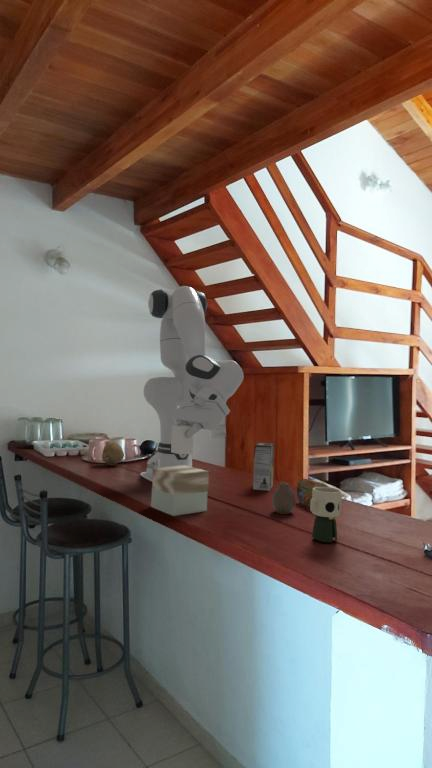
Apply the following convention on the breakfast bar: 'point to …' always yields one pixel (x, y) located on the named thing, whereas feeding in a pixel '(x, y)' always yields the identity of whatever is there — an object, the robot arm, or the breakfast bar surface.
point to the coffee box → (263, 466)
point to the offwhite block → (181, 440)
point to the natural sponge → (112, 453)
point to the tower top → (180, 480)
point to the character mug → (325, 512)
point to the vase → (283, 499)
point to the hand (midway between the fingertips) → (180, 435)
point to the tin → (307, 490)
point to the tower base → (179, 502)
